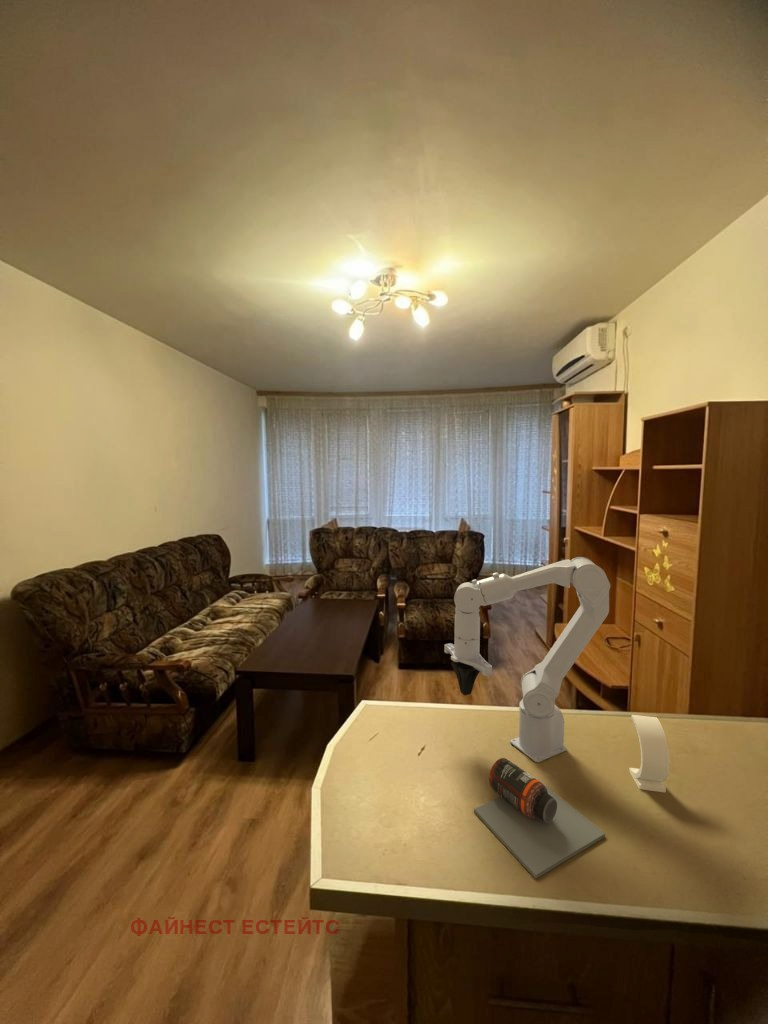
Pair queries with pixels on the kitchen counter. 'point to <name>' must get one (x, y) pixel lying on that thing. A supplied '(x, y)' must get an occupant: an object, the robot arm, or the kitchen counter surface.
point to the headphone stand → (651, 754)
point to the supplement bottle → (522, 790)
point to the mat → (539, 833)
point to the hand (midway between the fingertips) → (466, 693)
